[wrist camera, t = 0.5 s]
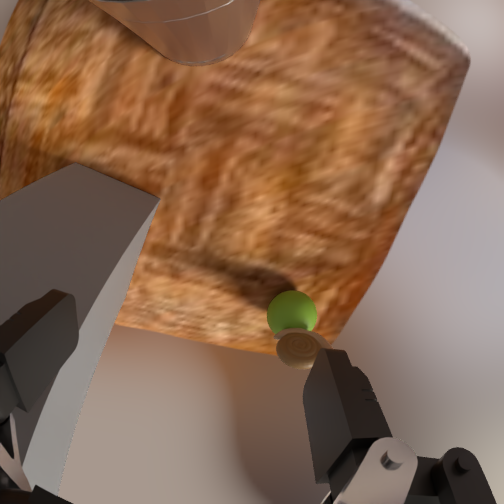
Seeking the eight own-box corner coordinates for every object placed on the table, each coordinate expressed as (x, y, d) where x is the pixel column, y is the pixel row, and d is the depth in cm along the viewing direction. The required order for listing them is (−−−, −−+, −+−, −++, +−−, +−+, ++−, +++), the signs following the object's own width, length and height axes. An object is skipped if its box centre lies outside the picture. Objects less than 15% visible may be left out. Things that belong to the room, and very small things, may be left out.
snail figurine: (311, 319, 36) (338, 396, 25) (260, 317, 35) (273, 399, 24) (323, 283, 33) (359, 359, 23) (268, 278, 32) (287, 360, 22)
